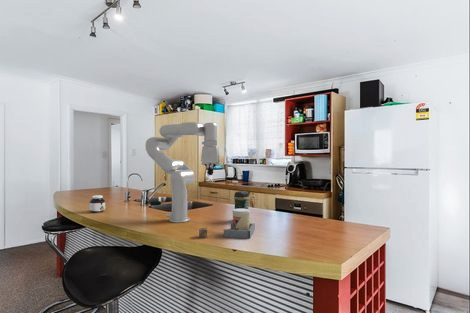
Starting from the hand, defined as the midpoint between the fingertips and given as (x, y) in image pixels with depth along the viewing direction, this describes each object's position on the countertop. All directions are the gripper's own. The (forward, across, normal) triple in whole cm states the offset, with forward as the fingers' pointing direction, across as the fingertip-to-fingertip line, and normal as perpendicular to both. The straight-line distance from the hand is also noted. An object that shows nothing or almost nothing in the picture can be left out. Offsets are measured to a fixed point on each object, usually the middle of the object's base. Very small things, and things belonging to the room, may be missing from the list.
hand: (210, 175), depth 162 cm
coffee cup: (+29, +21, -14) cm, 39 cm away
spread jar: (+29, -93, +21) cm, 100 cm away
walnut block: (+29, +4, -25) cm, 39 cm away
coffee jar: (+29, +16, +14) cm, 36 cm away
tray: (+29, +20, -15) cm, 38 cm away
